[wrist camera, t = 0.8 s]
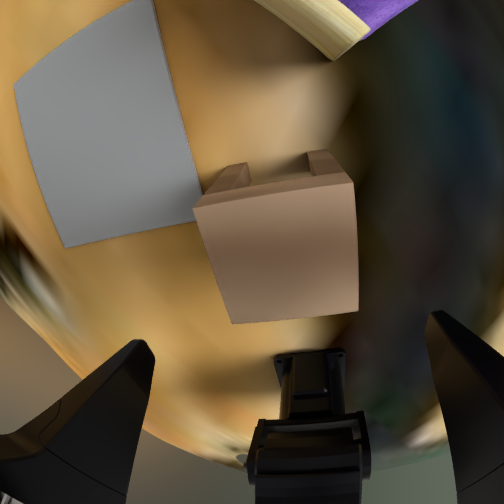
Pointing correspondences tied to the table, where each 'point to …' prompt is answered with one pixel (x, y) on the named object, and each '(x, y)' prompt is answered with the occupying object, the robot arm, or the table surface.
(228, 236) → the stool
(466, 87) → the table surface
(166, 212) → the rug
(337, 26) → the toy sofa
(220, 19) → the table surface
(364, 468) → the robot arm
